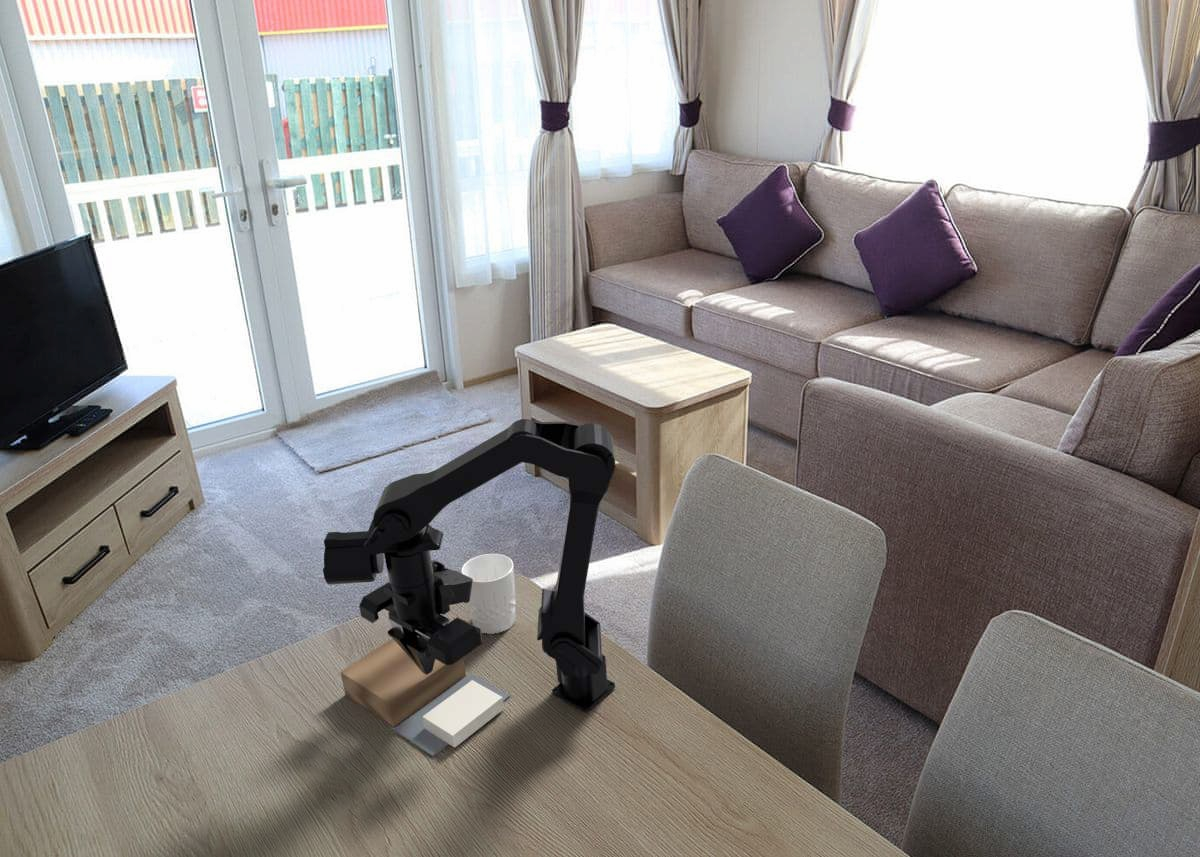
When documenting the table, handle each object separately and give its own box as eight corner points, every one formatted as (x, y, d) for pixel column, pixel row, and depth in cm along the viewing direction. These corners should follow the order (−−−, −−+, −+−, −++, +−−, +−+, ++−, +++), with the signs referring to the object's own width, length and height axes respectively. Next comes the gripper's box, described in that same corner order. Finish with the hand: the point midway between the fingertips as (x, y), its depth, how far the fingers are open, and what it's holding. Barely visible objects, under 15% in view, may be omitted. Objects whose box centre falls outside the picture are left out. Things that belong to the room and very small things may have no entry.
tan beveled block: (465, 675, 133) (462, 652, 131) (394, 726, 124) (389, 703, 122) (416, 647, 139) (412, 625, 138) (345, 694, 131) (340, 671, 129)
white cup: (501, 600, 149) (494, 547, 145) (529, 621, 144) (523, 567, 140) (459, 621, 145) (451, 567, 141) (487, 643, 139) (479, 588, 135)
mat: (510, 697, 128) (509, 695, 128) (432, 756, 118) (432, 755, 118) (470, 674, 133) (470, 673, 133) (393, 730, 123) (393, 728, 123)
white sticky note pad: (472, 680, 128) (473, 691, 129) (422, 716, 122) (424, 728, 123) (502, 697, 125) (504, 708, 125) (452, 735, 118) (454, 747, 119)
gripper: (505, 570, 120) (517, 667, 126) (413, 528, 131) (428, 619, 137) (440, 612, 112) (456, 712, 118) (348, 564, 123) (367, 658, 130)
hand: (427, 672), depth 126 cm, fingers closed
